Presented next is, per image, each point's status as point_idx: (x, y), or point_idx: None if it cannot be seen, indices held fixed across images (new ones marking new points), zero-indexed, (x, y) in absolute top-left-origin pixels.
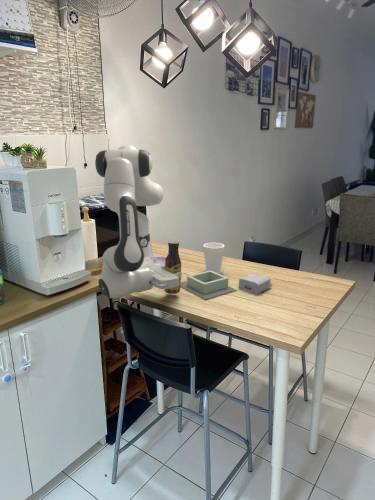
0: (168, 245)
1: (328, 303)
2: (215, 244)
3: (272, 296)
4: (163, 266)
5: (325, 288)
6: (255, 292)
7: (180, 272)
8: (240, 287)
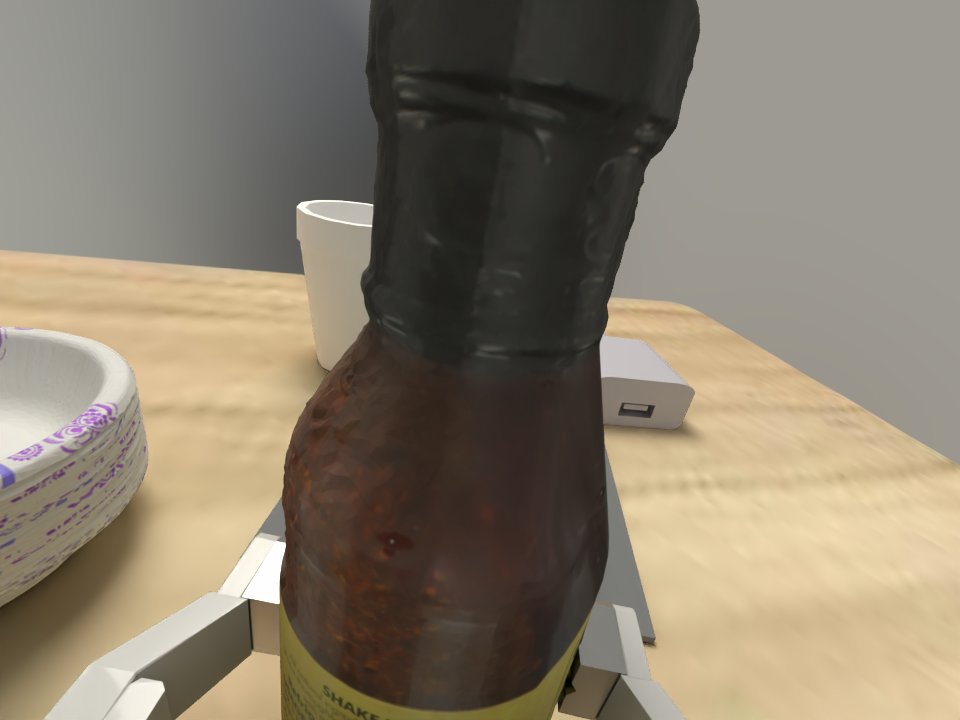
0: (475, 60)
1: (819, 390)
2: (342, 210)
3: (718, 420)
4: (188, 608)
5: (702, 336)
6: (669, 424)
7: (636, 618)
8: None
